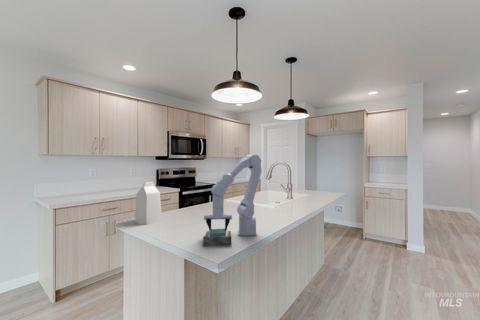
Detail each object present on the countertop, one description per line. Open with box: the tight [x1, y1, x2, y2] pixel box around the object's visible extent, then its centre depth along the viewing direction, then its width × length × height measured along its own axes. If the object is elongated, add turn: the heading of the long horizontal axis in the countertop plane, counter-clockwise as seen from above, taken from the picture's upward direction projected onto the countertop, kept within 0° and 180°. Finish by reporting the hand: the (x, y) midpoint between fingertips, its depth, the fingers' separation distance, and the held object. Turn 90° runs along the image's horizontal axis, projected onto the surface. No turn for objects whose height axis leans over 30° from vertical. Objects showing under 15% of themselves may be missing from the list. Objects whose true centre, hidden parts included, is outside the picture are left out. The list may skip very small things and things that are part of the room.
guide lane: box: [202, 230, 232, 247], centre depth 115 cm, size 13×18×4 cm
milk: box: [134, 181, 163, 226], centre depth 148 cm, size 12×12×26 cm
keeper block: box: [208, 228, 227, 236], centre depth 113 cm, size 8×6×5 cm
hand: (218, 233), depth 117 cm, fingers open, 7 cm apart
